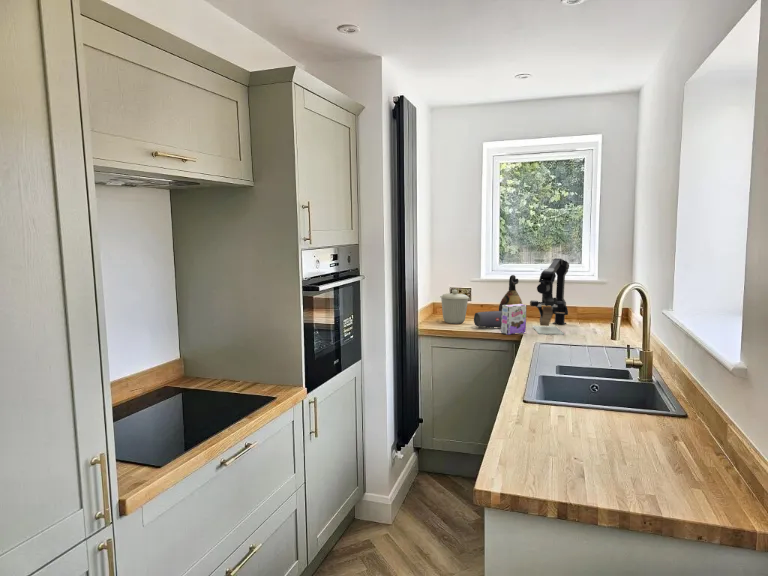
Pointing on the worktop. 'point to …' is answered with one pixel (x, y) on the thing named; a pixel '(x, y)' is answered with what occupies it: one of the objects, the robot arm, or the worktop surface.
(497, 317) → the bluetooth speaker
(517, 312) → the candy box
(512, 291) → the ceramic jug
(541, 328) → the sage mat
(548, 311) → the walnut block
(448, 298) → the canister
